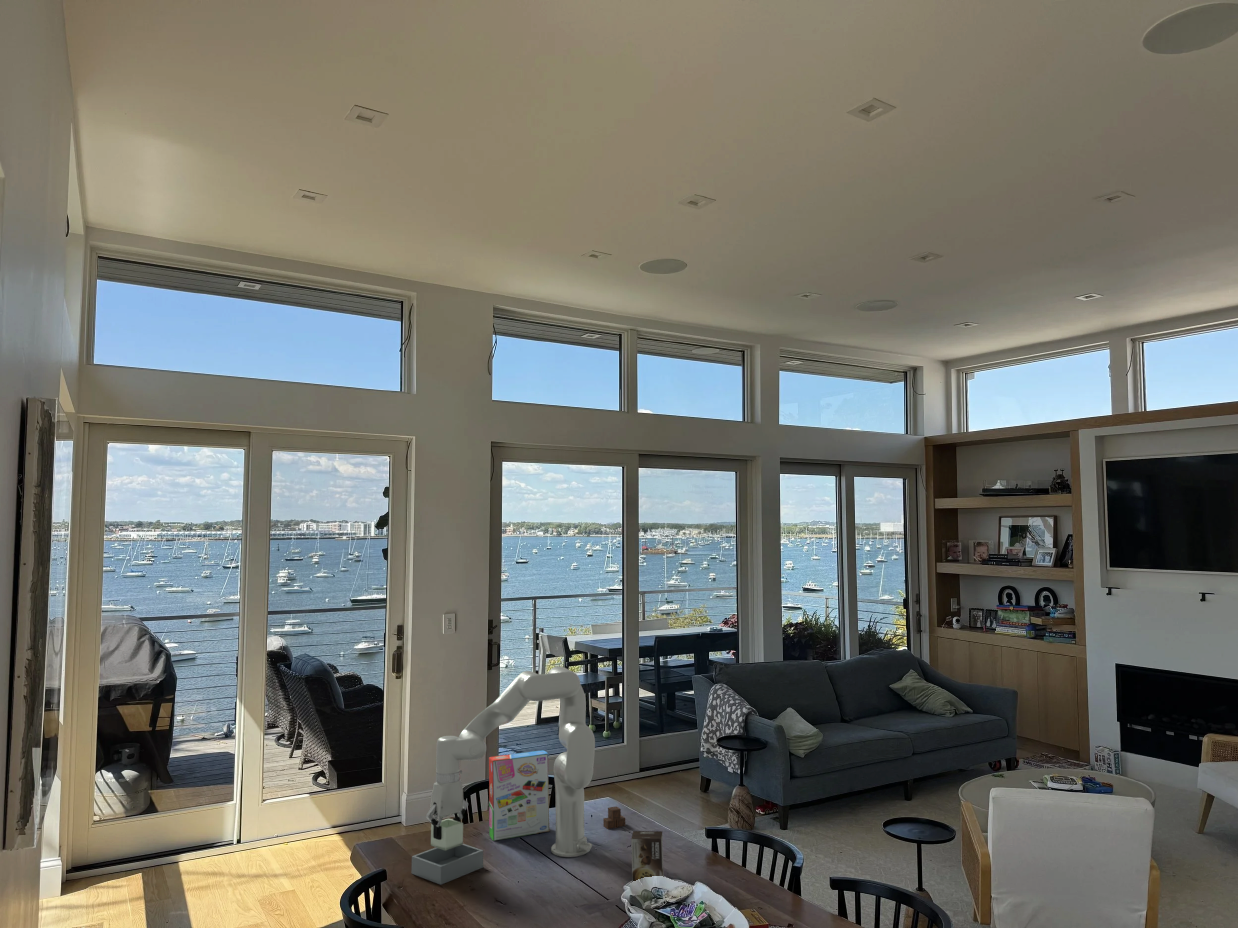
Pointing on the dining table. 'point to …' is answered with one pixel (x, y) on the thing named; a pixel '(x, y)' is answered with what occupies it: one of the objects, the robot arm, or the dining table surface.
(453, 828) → the small crate
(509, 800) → the game box
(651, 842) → the food package box
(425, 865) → the big crate
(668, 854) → the dining table surface
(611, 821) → the stack of crates
